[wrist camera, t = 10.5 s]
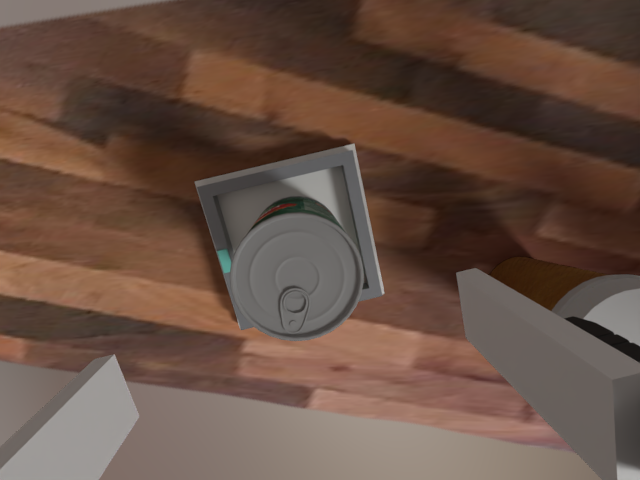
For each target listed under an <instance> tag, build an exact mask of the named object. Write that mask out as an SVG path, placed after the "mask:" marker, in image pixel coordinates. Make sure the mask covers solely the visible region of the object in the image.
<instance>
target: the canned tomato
mask: <svg viewBox="0 0 640 480" xmlns="http://www.w3.org/2000/svg"><path fill="white" fill-rule="evenodd" d="M363 282H364V272H363V265H362V260H361V256H360V254H359V252H358V249H357V247H356V245H355V244H354V242H353V241H352V239H351V238H350V237H349V235H348V234H347V233H346V232H345V231H344V229H343V228H342V227H341V225H340V224H339V222H338V221H337V220H336V218H335V216H334V215H333V214H332V212H331V211H330V210H329V209H328V208H327V207H326V206H325V205H323V204H322V203H320V202H318V201H317V200H314V199H311V198H309V197H303V196H290V197H286V198H282V199H280V200H277V201H275V202H273V203H272V204H271V205H269V206H268V207H267V208H266V209H265V210H264V211H263V212H262V213H261V214H260V216H259V218H258V219H257V221H256V222H255V223H254V225H253V226H252V227H251V229H250V230H249V232H248V233H247V234H246V236H245V237H244V238H243V239H242V240H241V242H240V244H239V246H238V247H237V249H236V251H235V253H234V256H233V259H232V262H231V268H230V287H231V292H232V295H233V298H234V302H235V303H236V305H237V307H238V309H239V311H240V312H241V314H242V315H243V316H244V317H245V318H246V320H247V321H248V322H249V323H250V324H252V325H253V326H254V327H255V328H257V329H258V330H260V331H261V332H263V333H265V334H267V335H269V336H272V337H275V338H278V339H282V340H290V341H302V340H310V339H314V338H318V337H321V336H323V335H325V334H327V333H329V332H331V331H333V330H334V329H336V328H337V327H338V326H340V325H341V324H342V323H343V322H344V321H345V320H346V319H347V318H348V317H349V316H350V315H351V313H352V312H353V310H354V309H355V307H356V306H357V303H358V301H359V298H360V296H361V293H362V288H363Z"/></svg>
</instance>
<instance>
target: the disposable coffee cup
mask: <svg viewBox="0 0 640 480" xmlns="http://www.w3.org/2000/svg"><path fill="white" fill-rule="evenodd" d="M490 276H491V277H493V278H494V279H496V280H498V281H500V282H501V283H503V284H505V285H506V286H508V287H510V288H512V289H513V290H515V291H517V292H518V293H520V294H522V295H524V296H525V297H527V298H529V299H531V300H532V301H534V302H536V303H537V304H539V305H541V306H543V307H544V308H546V309H548V310H550V311H551V312H553V313H555V314H556V315H558V316H560V317H562V318H563V319H564V318H568V317H572V316H574V317H578V318H581V319H585V320H588V321H592V322H595V323H597V324H599V325H601V326H603V327H605V328H607V329H608V330H610V331H612V332H614V334H618V335H620V336H622V337H624V338H625V339H627V340H629V342H630V343H635V344H637V345H639V346H640V276H637V275H630V274H620V275H607V274H603V273H597V272H593V271H589V270H583V269H579V268H575V267H570V266H564V265H559V264H555V263H550V262H546V261H541V260H536V259H532V258H527V257H513V258H510V259H507V260H505V261H503V262H502V263H500V264H499V265H498V266H497V267H496V268H495V269H494V270H493V271H492V272H491V274H490Z"/></svg>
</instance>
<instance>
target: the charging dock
mask: <svg viewBox="0 0 640 480" xmlns="http://www.w3.org/2000/svg"><path fill="white" fill-rule="evenodd" d="M195 185H196V189H197V192H198V195H199V198H200V201H201V205H202V208H203V211H204V214H205V218H206V221H207V224H208V227H209V230H210V234H211V237H212V240H213V243H214V247H215V250H216V253H217V256H218V259H219V263H220V266H221V269H222V272H223V276H224V279H225V282H226V285H227V288H228V292H229V295H230V298H231V301H232V305H233V308H234V311H235V314H236V317H237V321H238V324H239V327H240V329H241V330H244V329H248V328H252V327H254V326H253V325H252V324H250V323H249V322H248V321H247V320H246V318H245V317H244V316H243V315H242V314H241V312H240V311H239V309H238V307H237V305H236V303H235V302H234V298H233V295H232V292H231V287H230V268H231V262H232V259H233V256H234V253H235V251H236V249H237V247H238V246H239V244H240V242H241V240H242V239H243V238H244V237H245V236H246V234H247V233H248V232H249V230H250V229H251V227H252V226H253V225H254V223H255V222H256V221H257V219H258V218H259V216H260V214H261V213H262V212H263V211H264V210H265V209H266V208H267V207H268V206H269V205H271V204H272V203H273V202H275V201H277V200H280V199H282V198H286V197H290V196H303V197H309V198H311V199H314V200H317V201H318V202H320V203H322V204H323V205H325V206H326V207H327V208H328V209H329V210H330V211H331V212H332V214H333V215H334V216H335V218H336V220H337V221H338V222H339V224H340V225H341V227H342V228H343V229H344V231H345V232H346V233H347V234H348V235H349V237H350V238H351V239H352V241H353V242H354V244H355V245H356V247H357V249H358V252H359V254H360V256H361V260H362V265H363V272H364V282H363V288H362V293H361V296H360V298H359V301H363V300H367V299H371V298H375V297H379V296H382V294H385V293H384V288H383V283H382V278H381V273H380V268H379V263H378V258H377V253H376V248H375V243H374V238H373V233H372V228H371V223H370V218H369V213H368V209H367V204H366V199H365V194H364V189H363V184H362V179H361V174H360V169H359V164H358V159H357V154H356V149H355V144H350V145H346V146H342V147H338V148H333V149H329V150H325V151H321V152H317V153H312V154H308V155H304V156H300V157H296V158H291V159H287V160H283V161H279V162H275V163H270V164H266V165H262V166H258V167H254V168H249V169H245V170H241V171H237V172H233V173H228V174H224V175H220V176H216V177H211V178H207V179H203V180H199V181H195ZM359 301H358V302H359Z"/></svg>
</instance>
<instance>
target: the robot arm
mask: <svg viewBox="0 0 640 480" xmlns="http://www.w3.org/2000/svg"><path fill="white" fill-rule="evenodd" d="M456 276H457V282H458V289H459V295H460V302H461V309H462V315H463V322H464V328H465V335H466V339H467V340H468V341H469V342H470V343H471V344H472V345H473V346H474V347H475V348H476V349H477V350H478V351H479V352H480V353H481V354H482V355H483V356H484V357H485V358H486V359H487V360H488V361H489V362H490V364H491V365H492V366H493V367H494V368H495V369H496V370H497V371H498V372H499V373H500V374H501V375H502V376H503V377H504V378H505V379H506V380H507V381H508V382H509V383H510V384H511V385H512V386H513V387H514V389H515V390H516V391H517V392H518V393H519V394H520V395H521V396H522V397H523V398H524V399H525V400H526V401H527V402H528V403H529V404H530V405H531V406H532V407H533V408H534V409H535V410H536V411H537V412H538V413H539V415H540V416H541V417H542V418H543V419H544V420H545V421H546V422H547V423H548V424H549V425H550V426H551V427H552V428H553V429H554V430H555V431H556V432H557V433H558V434H559V435H560V436H561V437H562V438H563V440H564V441H565V442H566V443H567V444H568V445H569V446H570V447H571V448H572V449H573V450H574V451H575V452H576V453H577V454H578V455H579V456H580V457H581V458H582V459H583V460H584V461H585V462H586V463H587V465H589V467H590V468H591V469H592V470H593V471H594V472H595V473H596V474H597V475H598V476H599V477H600V478H601V479H602V480H640V346H639V345H637V344H635V343H630V342H629V340H627V339H625V338H624V337H622V336H620V335H618V334H614V332H612V331H610V330H608V329H607V328H605V327H603V326H601V325H599V324H597V323H595V322H592V321H588V320H585V319H581V318H578V317H574V316H572V317H568V318H564V319H563V318H562V317H560V316H558V315H556V314H555V313H553V312H551V311H550V310H548V309H546V308H544V307H543V306H541V305H539V304H537V303H536V302H534V301H532V300H531V299H529V298H527V297H525V296H524V295H522V294H520V293H518V292H517V291H515V290H513V289H512V288H510V287H508V286H506V285H505V284H503V283H501V282H500V281H498V280H496V279H494V278H493V277H491V276H489V275H487V274H486V273H484V272H482V271H481V270H479V269H477V268H473V269H469V270H465V271H460V272H456ZM138 418H139V414H138V412H137V409H136V407H135V404H134V402H133V399H132V397H131V395H130V392H129V389H128V387H127V384H126V382H125V379H124V377H123V374H122V372H121V369H120V367H119V365H118V362H117V360H116V357H115V355H110V356H106V357H102V358H97V359H94V360H93V361H92V362H91V363H90V364H89V365H88V366H87V367H86V368H84V369H83V370H82V371H81V372H80V373H79V374H78V375H77V376H76V377H75V378H74V379H73V380H72V381H71V382H69V383H68V384H67V385H66V386H65V387H64V388H63V389H62V390H61V391H60V392H59V393H58V394H57V395H55V396H54V397H53V398H52V399H51V400H50V401H49V402H48V403H47V404H46V405H45V406H44V407H43V408H42V409H41V410H40V411H38V412H37V413H36V414H35V415H34V416H33V417H32V418H31V419H30V420H29V421H28V422H27V423H26V424H24V425H23V426H22V427H21V428H20V429H19V430H18V431H17V432H16V433H15V434H14V435H13V436H12V437H10V438H9V439H8V440H7V441H6V442H5V443H4V444H3V445H2V446H1V447H0V480H99V478H100V477H101V475H102V474H103V472H104V470H105V469H106V467H107V466H108V464H109V463H110V461H111V460H112V458H113V457H114V455H115V454H116V452H117V450H118V449H119V447H120V446H121V444H122V443H123V441H124V440H125V438H126V436H127V435H128V433H129V432H130V430H131V429H132V427H133V426H134V424H135V423H136V421H137V420H138Z"/></svg>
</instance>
